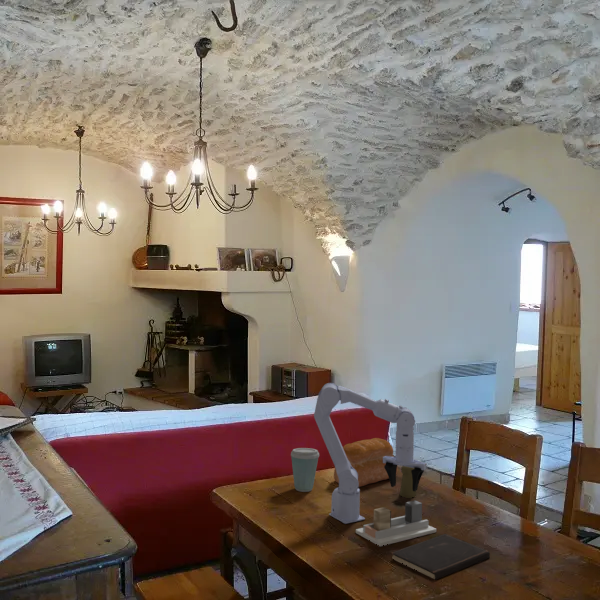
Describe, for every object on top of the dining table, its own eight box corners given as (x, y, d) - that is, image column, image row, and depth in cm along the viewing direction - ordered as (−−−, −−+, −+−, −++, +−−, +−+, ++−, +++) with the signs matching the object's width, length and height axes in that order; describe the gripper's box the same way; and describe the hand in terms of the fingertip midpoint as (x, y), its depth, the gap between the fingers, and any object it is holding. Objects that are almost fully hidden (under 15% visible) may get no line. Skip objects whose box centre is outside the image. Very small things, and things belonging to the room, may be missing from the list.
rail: (355, 532, 202) (355, 506, 202) (410, 519, 214) (411, 495, 214) (379, 546, 192) (380, 519, 192) (436, 532, 204) (436, 506, 203)
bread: (329, 481, 253) (330, 442, 253) (376, 469, 270) (377, 432, 269) (354, 490, 243) (354, 449, 242) (401, 477, 260) (402, 439, 259)
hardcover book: (391, 560, 184) (391, 552, 184) (445, 541, 198) (445, 533, 198) (435, 582, 171) (435, 573, 171) (489, 559, 185) (490, 551, 185)
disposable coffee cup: (288, 485, 248) (289, 445, 248) (317, 484, 249) (317, 445, 249) (291, 494, 238) (291, 453, 237) (321, 493, 239) (321, 452, 238)
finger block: (373, 532, 200) (373, 509, 200) (385, 529, 203) (385, 506, 202) (379, 535, 198) (380, 512, 198) (391, 532, 200) (391, 509, 200)
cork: (416, 498, 234) (416, 468, 234) (399, 497, 235) (399, 466, 235) (416, 493, 240) (417, 463, 240) (400, 492, 241) (400, 462, 241)
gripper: (378, 445, 213) (378, 487, 214) (420, 452, 205) (419, 495, 205) (388, 441, 219) (388, 481, 219) (429, 447, 211) (428, 489, 211)
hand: (404, 488), depth 213 cm, fingers open, 7 cm apart
